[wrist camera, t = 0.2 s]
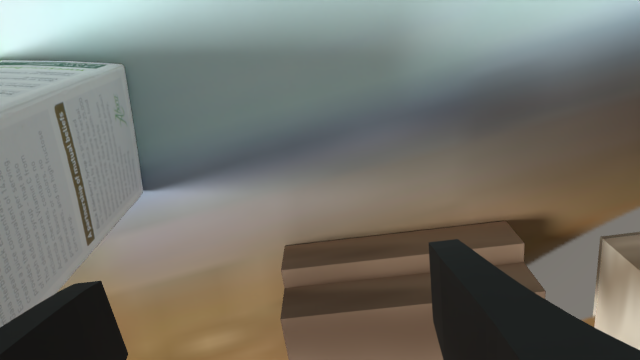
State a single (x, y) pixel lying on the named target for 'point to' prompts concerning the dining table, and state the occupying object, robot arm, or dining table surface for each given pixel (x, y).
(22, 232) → the syrup box
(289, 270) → the walnut ridge
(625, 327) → the metal bar
